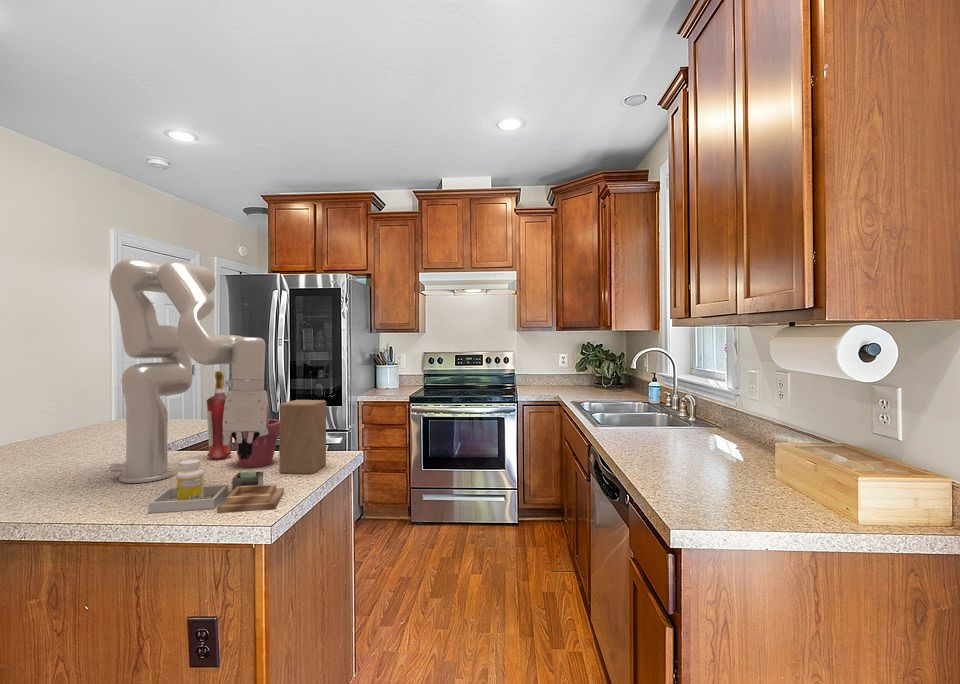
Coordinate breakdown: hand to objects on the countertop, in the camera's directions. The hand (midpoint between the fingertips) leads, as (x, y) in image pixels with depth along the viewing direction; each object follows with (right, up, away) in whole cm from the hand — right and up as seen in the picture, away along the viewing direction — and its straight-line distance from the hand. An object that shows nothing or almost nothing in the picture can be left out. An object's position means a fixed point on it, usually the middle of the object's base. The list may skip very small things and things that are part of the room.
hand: (245, 457), depth 125 cm
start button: (+1, -6, 0) cm, 6 cm away
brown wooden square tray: (+6, -8, -9) cm, 14 cm away
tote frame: (-8, -8, -10) cm, 15 cm away
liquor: (-24, -8, +34) cm, 43 cm away
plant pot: (-10, -8, +27) cm, 30 cm away
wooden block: (+7, -9, +21) cm, 24 cm away
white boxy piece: (+1, -8, 0) cm, 8 cm away
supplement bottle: (-8, -9, -10) cm, 15 cm away
